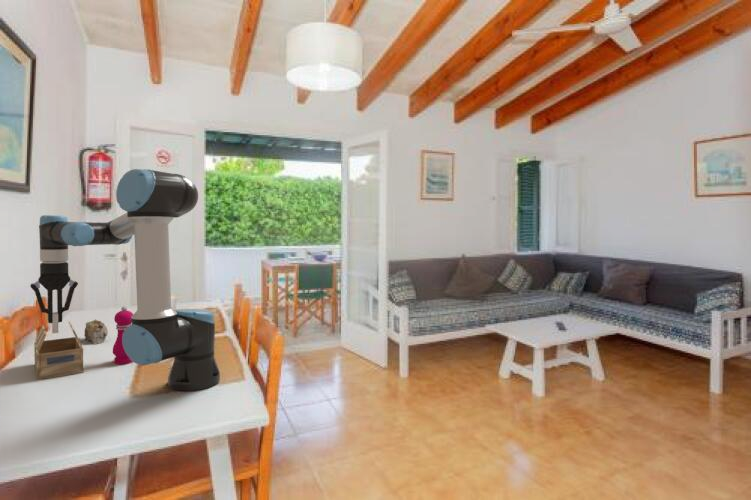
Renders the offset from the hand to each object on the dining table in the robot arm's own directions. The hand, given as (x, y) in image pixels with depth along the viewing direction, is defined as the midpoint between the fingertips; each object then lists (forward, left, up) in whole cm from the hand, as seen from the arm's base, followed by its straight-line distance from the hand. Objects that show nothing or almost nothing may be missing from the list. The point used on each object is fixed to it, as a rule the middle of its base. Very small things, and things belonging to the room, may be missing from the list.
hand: (55, 332), depth 144 cm
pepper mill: (-5, -19, -13) cm, 24 cm away
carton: (0, -1, -13) cm, 13 cm away
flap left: (0, +4, -1) cm, 4 cm away
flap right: (0, -5, -1) cm, 5 cm away
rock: (+33, -16, -13) cm, 39 cm away
